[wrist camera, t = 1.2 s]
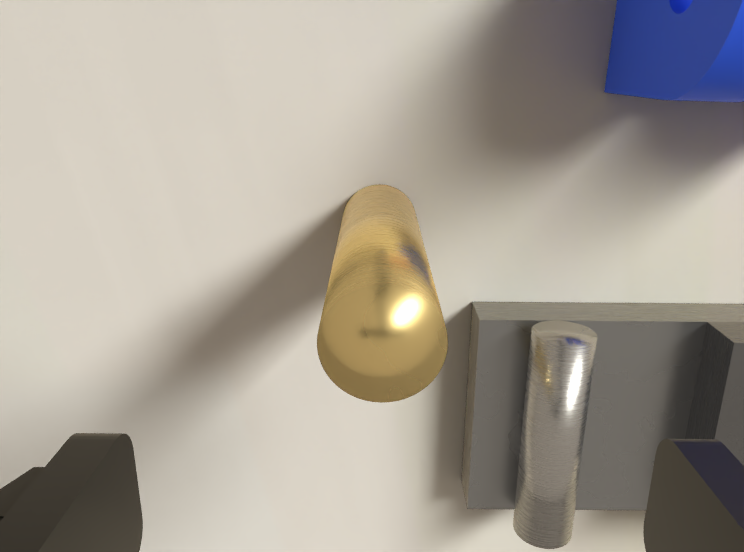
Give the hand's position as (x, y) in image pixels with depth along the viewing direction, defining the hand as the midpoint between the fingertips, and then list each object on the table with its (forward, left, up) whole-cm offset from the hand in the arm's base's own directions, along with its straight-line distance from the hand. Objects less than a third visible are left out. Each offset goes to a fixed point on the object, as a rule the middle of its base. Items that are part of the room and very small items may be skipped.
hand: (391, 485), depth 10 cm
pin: (0, 0, -17) cm, 17 cm away
